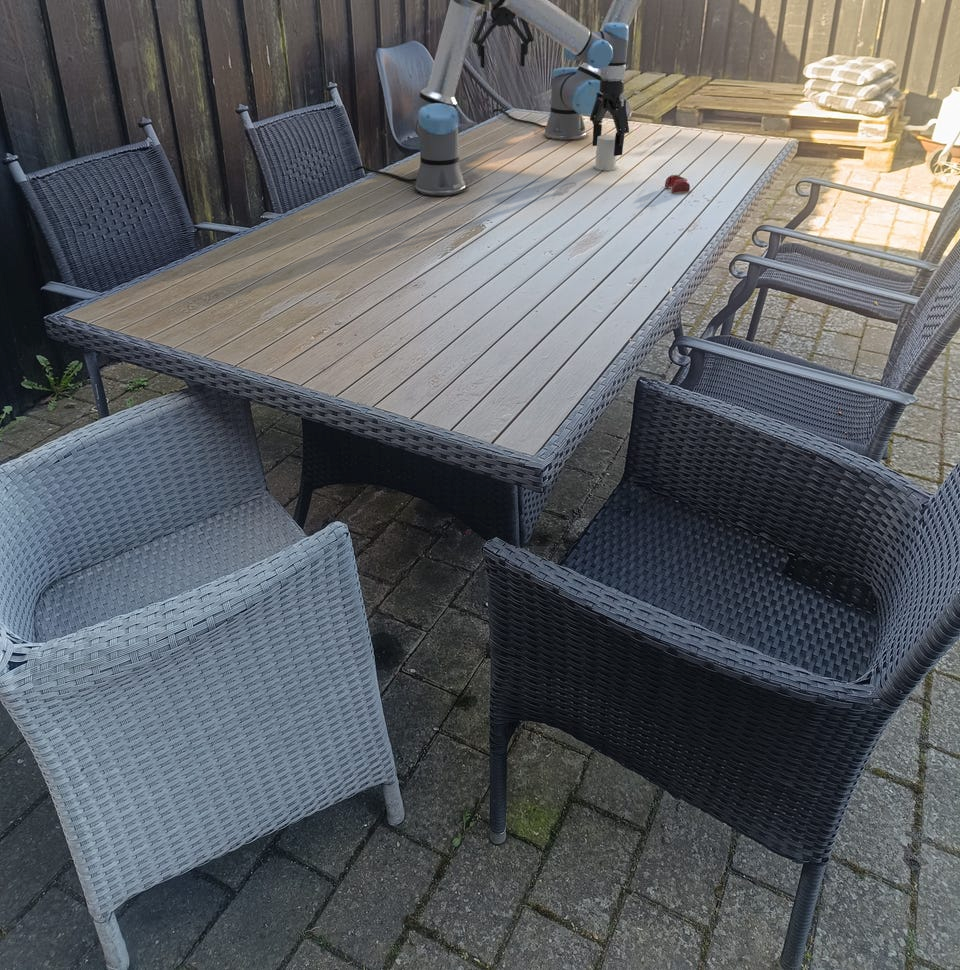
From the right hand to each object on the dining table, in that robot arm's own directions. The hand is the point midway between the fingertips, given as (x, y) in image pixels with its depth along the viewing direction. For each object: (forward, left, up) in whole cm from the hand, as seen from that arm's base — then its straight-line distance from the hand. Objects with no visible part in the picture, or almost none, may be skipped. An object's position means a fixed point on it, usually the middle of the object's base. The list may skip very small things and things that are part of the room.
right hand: (502, 66), depth 279 cm
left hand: (+27, +29, -22) cm, 45 cm away
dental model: (+55, +42, -27) cm, 75 cm away
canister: (+27, +29, -27) cm, 48 cm away
